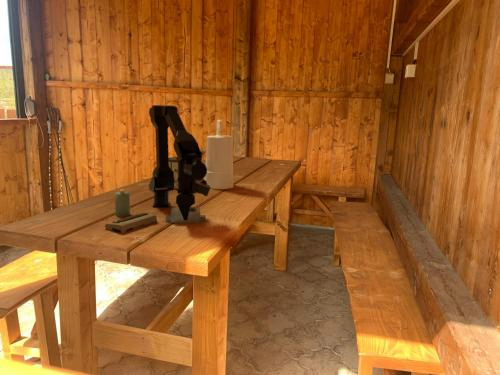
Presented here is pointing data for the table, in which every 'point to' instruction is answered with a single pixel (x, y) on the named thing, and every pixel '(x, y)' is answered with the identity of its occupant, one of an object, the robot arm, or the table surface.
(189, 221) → the housing
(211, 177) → the paper towel roll holder
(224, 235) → the table surface
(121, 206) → the cylinder
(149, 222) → the computer
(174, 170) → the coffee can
